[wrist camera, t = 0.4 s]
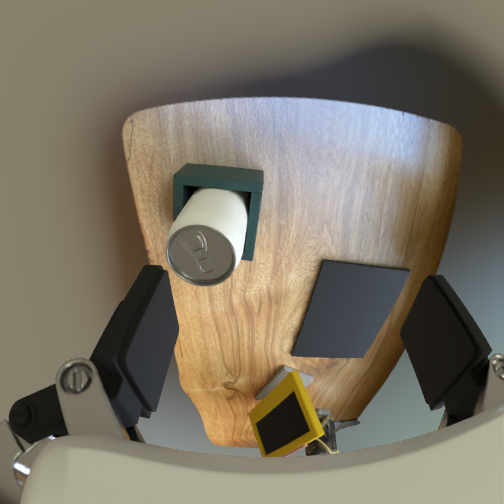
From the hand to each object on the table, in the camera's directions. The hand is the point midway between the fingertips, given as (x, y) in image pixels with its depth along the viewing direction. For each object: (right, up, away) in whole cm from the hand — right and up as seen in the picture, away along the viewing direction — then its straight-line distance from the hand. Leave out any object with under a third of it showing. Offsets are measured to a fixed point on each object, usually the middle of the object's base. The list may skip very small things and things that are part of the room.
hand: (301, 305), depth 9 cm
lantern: (+15, -39, +50) cm, 65 cm away
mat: (+13, -8, +31) cm, 35 cm away
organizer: (-5, +8, +22) cm, 24 cm away
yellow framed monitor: (+5, -25, +42) cm, 49 cm away
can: (-5, +8, +22) cm, 24 cm away
